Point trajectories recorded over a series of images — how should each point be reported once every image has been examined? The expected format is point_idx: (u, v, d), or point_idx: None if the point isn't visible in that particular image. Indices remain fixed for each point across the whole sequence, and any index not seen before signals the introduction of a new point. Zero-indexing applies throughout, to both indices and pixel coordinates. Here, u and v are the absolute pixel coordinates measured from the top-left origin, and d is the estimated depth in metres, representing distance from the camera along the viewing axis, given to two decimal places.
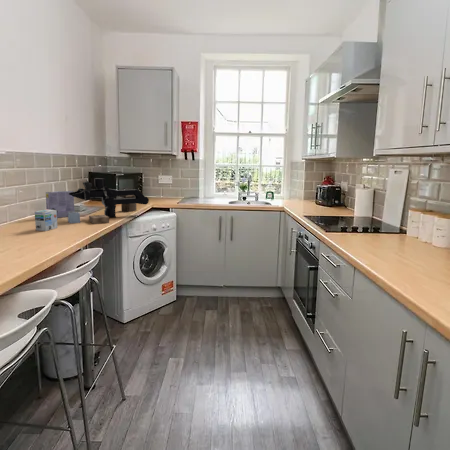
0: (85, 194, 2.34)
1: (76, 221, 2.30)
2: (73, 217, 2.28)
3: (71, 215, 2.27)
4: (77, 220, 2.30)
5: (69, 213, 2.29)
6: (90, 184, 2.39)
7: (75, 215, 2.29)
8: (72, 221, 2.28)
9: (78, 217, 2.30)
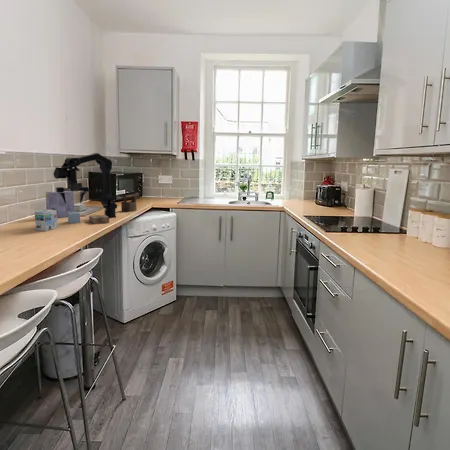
0: None
1: (76, 221, 2.30)
2: (73, 217, 2.28)
3: (71, 215, 2.27)
4: (77, 220, 2.30)
5: (69, 213, 2.29)
6: (81, 185, 2.24)
7: (75, 215, 2.29)
8: (72, 221, 2.28)
9: (78, 217, 2.30)
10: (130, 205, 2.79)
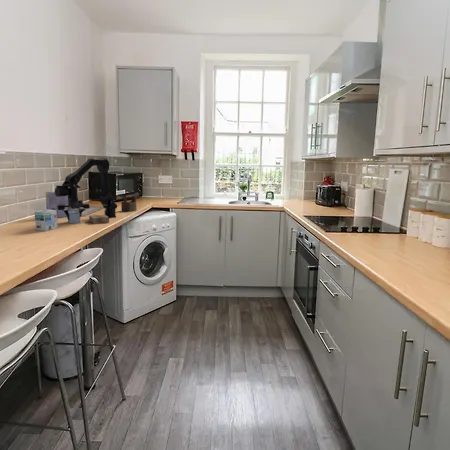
0: None
1: (76, 221, 2.30)
2: (73, 217, 2.28)
3: (71, 215, 2.27)
4: (77, 219, 2.30)
5: (69, 213, 2.29)
6: (82, 202, 2.26)
7: (75, 215, 2.29)
8: (72, 220, 2.28)
9: (78, 217, 2.30)
10: (130, 205, 2.79)
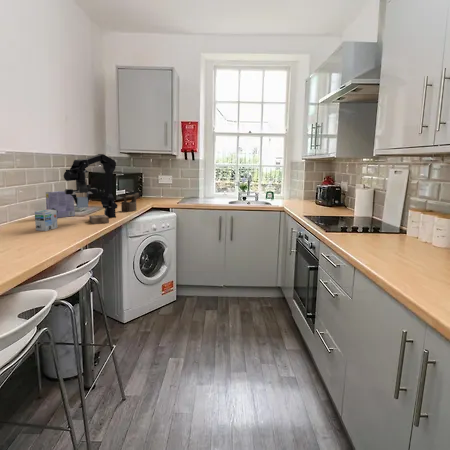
0: None
1: (84, 205, 2.29)
2: (81, 201, 2.28)
3: (79, 199, 2.27)
4: (85, 204, 2.29)
5: (77, 197, 2.28)
6: (90, 186, 2.25)
7: (83, 199, 2.28)
8: (80, 205, 2.28)
9: (86, 201, 2.29)
10: (130, 205, 2.79)
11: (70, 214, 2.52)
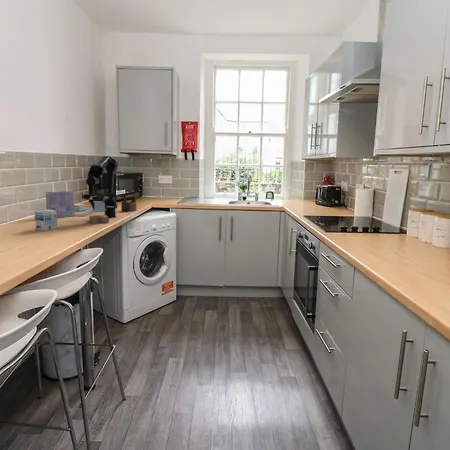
0: None
1: (101, 210, 2.31)
2: (98, 206, 2.30)
3: (96, 204, 2.29)
4: (102, 209, 2.31)
5: (94, 202, 2.30)
6: None
7: (100, 204, 2.30)
8: (97, 210, 2.30)
9: (103, 206, 2.31)
10: (130, 205, 2.79)
11: (70, 214, 2.52)
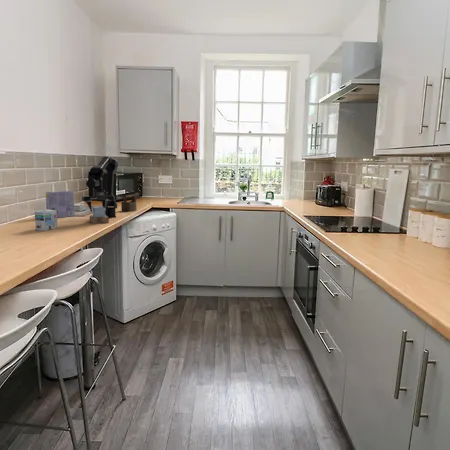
0: None
1: (101, 215, 2.32)
2: (98, 211, 2.30)
3: (96, 209, 2.29)
4: (102, 214, 2.32)
5: (94, 207, 2.31)
6: None
7: (100, 209, 2.31)
8: (97, 215, 2.30)
9: (103, 211, 2.32)
10: (130, 205, 2.79)
11: (70, 214, 2.52)
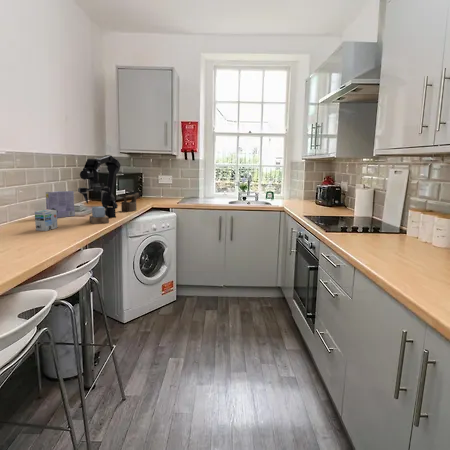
0: None
1: (101, 215, 2.32)
2: (98, 211, 2.30)
3: (96, 209, 2.29)
4: (102, 214, 2.32)
5: (94, 207, 2.31)
6: None
7: (100, 209, 2.31)
8: (97, 215, 2.30)
9: (103, 211, 2.32)
10: (130, 205, 2.79)
11: (70, 214, 2.52)
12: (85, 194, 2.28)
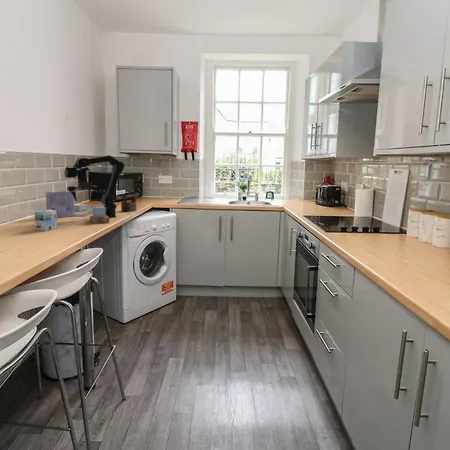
0: None
1: (102, 215, 2.32)
2: (99, 211, 2.31)
3: (97, 209, 2.30)
4: (103, 214, 2.33)
5: (95, 207, 2.31)
6: None
7: (101, 209, 2.31)
8: (98, 215, 2.31)
9: (104, 211, 2.33)
10: (130, 205, 2.79)
11: (70, 214, 2.52)
12: (73, 192, 2.34)
